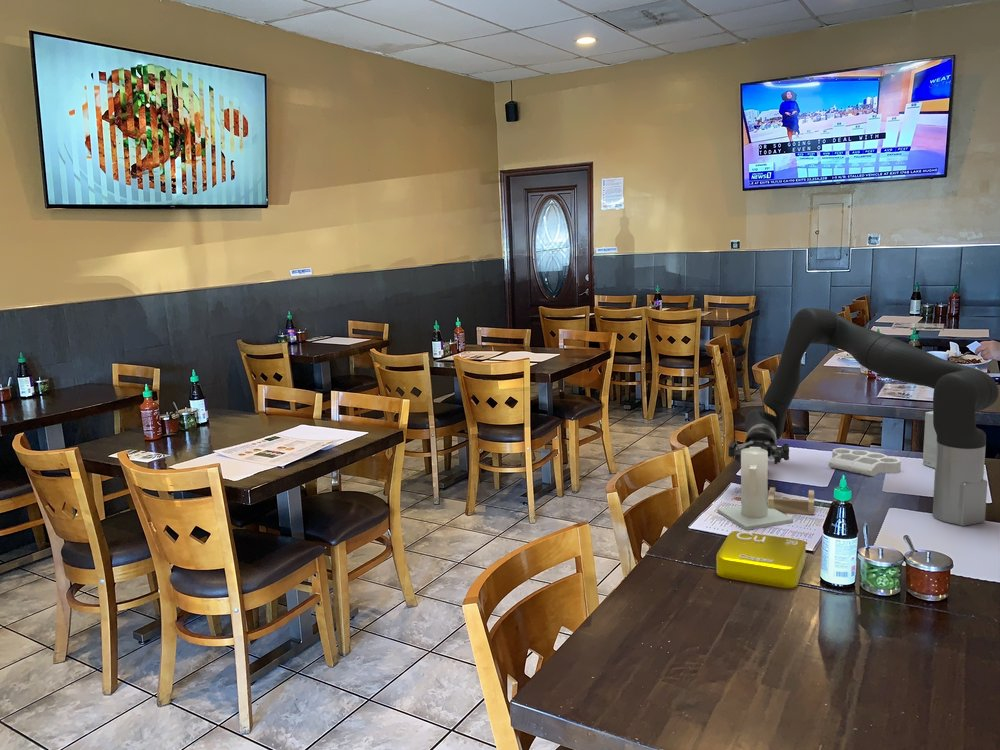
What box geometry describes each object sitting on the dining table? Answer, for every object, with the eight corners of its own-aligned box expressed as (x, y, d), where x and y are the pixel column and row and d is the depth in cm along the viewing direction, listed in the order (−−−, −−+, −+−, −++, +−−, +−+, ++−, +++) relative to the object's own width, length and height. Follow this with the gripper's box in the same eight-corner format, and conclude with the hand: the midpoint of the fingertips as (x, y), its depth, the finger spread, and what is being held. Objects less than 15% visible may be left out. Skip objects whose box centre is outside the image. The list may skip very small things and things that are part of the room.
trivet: (792, 522, 170) (792, 518, 170) (746, 530, 167) (746, 526, 167) (761, 504, 182) (761, 501, 181) (717, 512, 179) (717, 508, 178)
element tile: (714, 578, 146) (714, 555, 146) (730, 548, 159) (730, 527, 158) (795, 591, 139) (796, 567, 138) (806, 559, 152) (807, 537, 151)
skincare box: (939, 470, 199) (942, 416, 196) (921, 464, 204) (923, 411, 202) (964, 466, 201) (967, 412, 198) (945, 460, 207) (948, 407, 204)
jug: (742, 507, 179) (742, 446, 176) (768, 508, 177) (768, 447, 174) (739, 521, 170) (738, 458, 167) (766, 524, 168) (766, 459, 165)
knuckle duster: (817, 467, 208) (843, 456, 217) (883, 481, 194) (908, 468, 203) (817, 455, 207) (843, 444, 216) (884, 469, 193) (909, 456, 202)
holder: (769, 498, 185) (770, 487, 185) (813, 502, 181) (814, 490, 181) (768, 511, 177) (768, 499, 177) (813, 514, 174) (814, 502, 173)
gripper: (732, 425, 198) (726, 442, 183) (790, 428, 193) (788, 445, 178) (732, 453, 199) (726, 471, 185) (789, 456, 194) (788, 476, 179)
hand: (757, 459), depth 181 cm, fingers open, 8 cm apart
